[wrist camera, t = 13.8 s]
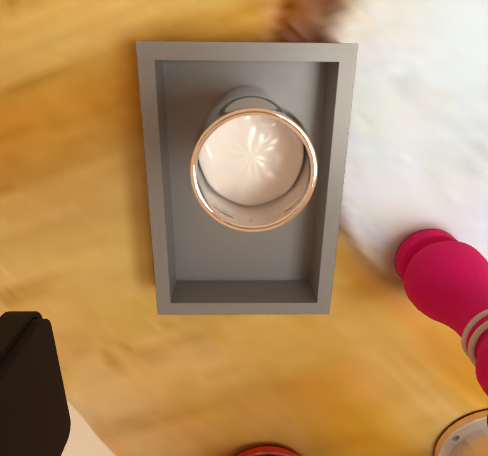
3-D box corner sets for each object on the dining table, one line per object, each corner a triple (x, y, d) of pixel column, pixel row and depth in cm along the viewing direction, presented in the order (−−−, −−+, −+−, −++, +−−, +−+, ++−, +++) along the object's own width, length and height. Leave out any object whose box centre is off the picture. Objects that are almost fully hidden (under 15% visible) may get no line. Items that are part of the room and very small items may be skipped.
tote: (319, 285, 43) (329, 314, 38) (166, 285, 43) (157, 314, 38) (341, 43, 34) (358, 43, 30) (149, 41, 34) (135, 40, 29)
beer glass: (215, 172, 37) (204, 247, 23) (195, 90, 34) (169, 120, 21) (294, 156, 37) (330, 222, 23) (280, 71, 34) (311, 89, 20)
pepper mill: (390, 227, 41) (518, 377, 22) (466, 219, 40) (659, 364, 22) (388, 292, 43) (500, 473, 25) (459, 285, 43) (625, 461, 25)
